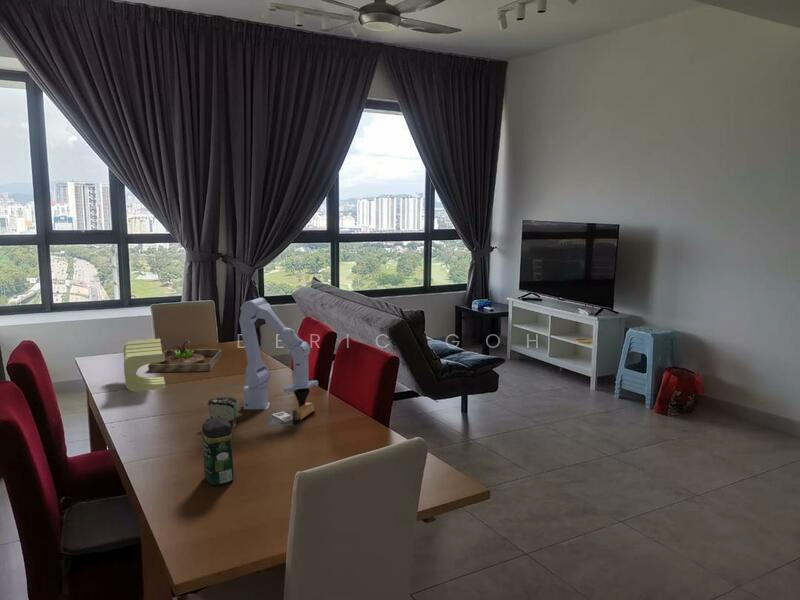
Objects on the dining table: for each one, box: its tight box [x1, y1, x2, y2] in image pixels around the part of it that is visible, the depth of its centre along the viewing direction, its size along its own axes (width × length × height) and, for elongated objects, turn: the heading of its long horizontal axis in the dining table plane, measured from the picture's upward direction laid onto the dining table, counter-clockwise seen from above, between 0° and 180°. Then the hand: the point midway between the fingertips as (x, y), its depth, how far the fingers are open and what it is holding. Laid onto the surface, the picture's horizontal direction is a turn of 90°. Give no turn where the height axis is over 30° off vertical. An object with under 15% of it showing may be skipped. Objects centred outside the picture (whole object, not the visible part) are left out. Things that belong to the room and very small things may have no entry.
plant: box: [161, 340, 206, 364], centre depth 313 cm, size 20×20×11 cm
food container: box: [206, 396, 240, 430], centre depth 228 cm, size 12×6×10 cm, turn 71°
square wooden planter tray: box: [147, 348, 223, 373], centre depth 311 cm, size 29×29×4 cm
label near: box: [279, 415, 293, 422], centre depth 233 cm, size 5×5×1 cm
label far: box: [272, 411, 289, 419], centre depth 237 cm, size 5×5×1 cm
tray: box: [266, 409, 302, 427], centre depth 234 cm, size 12×15×5 cm
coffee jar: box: [201, 417, 235, 486], centre depth 184 cm, size 10×8×19 cm
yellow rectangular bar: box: [295, 401, 316, 420], centre depth 237 cm, size 12×4×2 cm, turn 162°
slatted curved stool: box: [123, 338, 166, 393], centre depth 273 cm, size 30×16×18 cm, turn 24°
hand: (301, 406), depth 242 cm, fingers closed
